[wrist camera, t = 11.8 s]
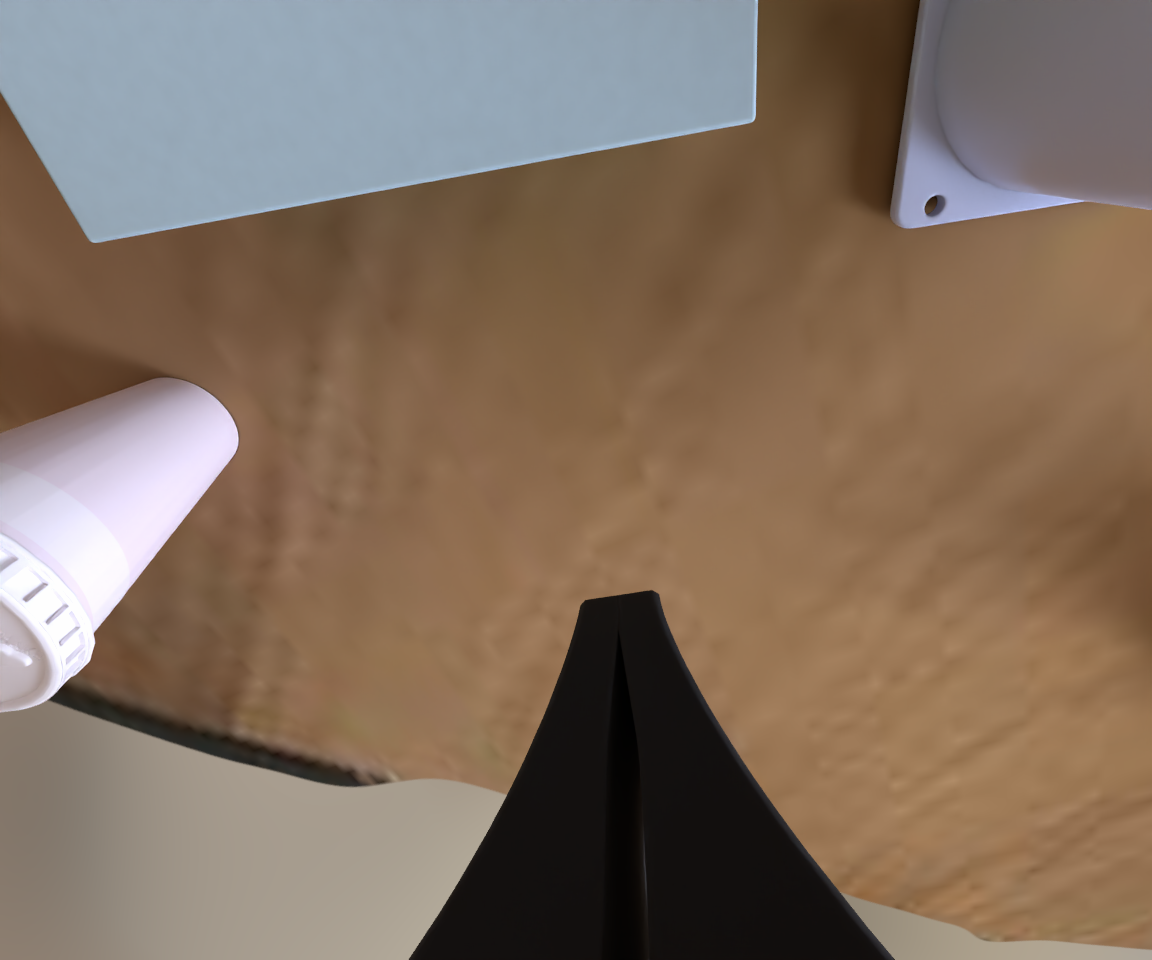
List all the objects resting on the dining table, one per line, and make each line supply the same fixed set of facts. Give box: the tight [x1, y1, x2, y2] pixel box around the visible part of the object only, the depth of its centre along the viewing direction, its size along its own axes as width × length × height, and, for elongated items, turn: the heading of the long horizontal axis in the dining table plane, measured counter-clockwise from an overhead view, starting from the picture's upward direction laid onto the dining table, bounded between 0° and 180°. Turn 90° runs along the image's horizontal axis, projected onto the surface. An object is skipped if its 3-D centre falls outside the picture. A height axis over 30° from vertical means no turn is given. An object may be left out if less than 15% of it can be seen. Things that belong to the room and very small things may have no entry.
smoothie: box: [0, 377, 238, 712], centre depth 14 cm, size 6×6×14 cm
